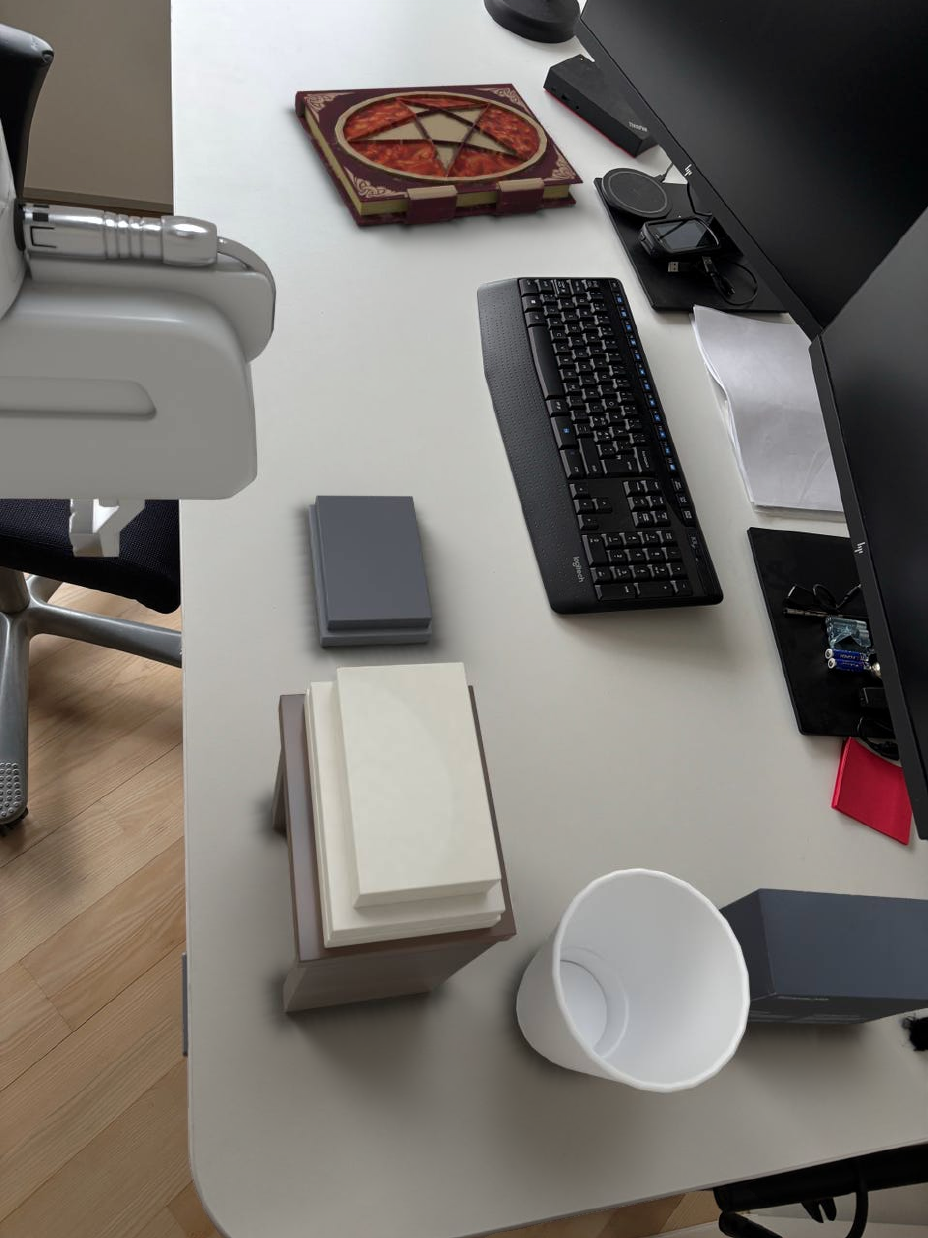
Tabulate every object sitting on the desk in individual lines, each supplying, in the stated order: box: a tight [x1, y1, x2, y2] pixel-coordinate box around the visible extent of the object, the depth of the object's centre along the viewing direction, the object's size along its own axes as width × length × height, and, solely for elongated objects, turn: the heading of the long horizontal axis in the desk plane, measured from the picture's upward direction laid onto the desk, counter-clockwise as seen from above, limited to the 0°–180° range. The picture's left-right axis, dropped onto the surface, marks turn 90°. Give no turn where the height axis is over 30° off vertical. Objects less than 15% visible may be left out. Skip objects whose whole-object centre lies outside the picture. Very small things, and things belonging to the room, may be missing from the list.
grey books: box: [307, 495, 433, 647], centre depth 77 cm, size 13×9×3 cm
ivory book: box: [331, 661, 501, 908], centre depth 44 cm, size 11×6×3 cm, turn 9°
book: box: [294, 82, 584, 226], centre depth 107 cm, size 28×21×5 cm
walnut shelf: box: [271, 684, 518, 1013], centre depth 57 cm, size 14×11×20 cm
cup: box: [515, 867, 750, 1094], centre depth 58 cm, size 12×12×16 cm
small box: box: [718, 887, 928, 1026], centre depth 64 cm, size 13×7×12 cm, turn 90°
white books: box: [304, 680, 505, 948], centre depth 47 cm, size 13×8×4 cm, turn 9°
